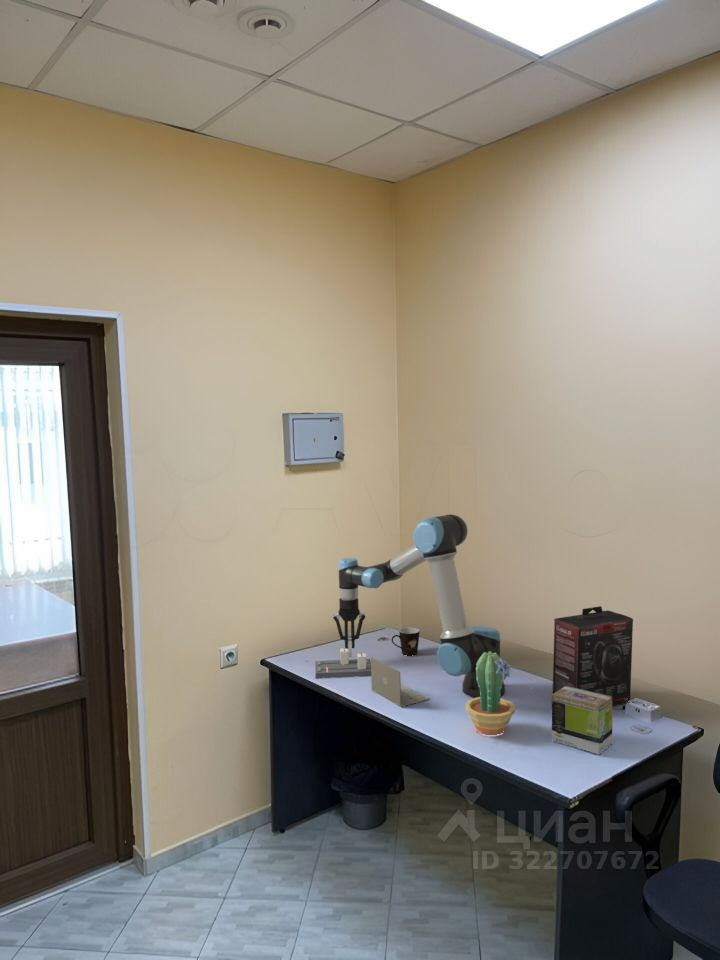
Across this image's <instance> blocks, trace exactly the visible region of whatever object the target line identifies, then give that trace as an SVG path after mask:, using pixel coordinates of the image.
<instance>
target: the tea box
mask: <svg viewBox="0 0 720 960" xmlns="http://www.w3.org/2000/svg"><path fill="white" fill-rule="evenodd" d="M552 740H553V741H552ZM551 741H552V742H554V741H557V742H556V743H558V742H560V743H559V744H561V743H564V744H566V745H565V746H568V745H570V746H569V747H571V746H573V747H572V748H574V747H577V748H576V749H578V748H579V749H578V750H581V749H583V750H582V751H584V750H587V751H586V752H588V751H590V752H589V753H591V752H593V753H592V754H594V753H597V754H596V755H598V754H600V753H601V752H602V753H604V752H603V750H605V749H606V748H607V747H608V746H609V745H610V744H611V743H612V744H613V706H612V697H611V696H608V695H603V694H599V693H595V692H590V691H586V690H582V689H577V688H573V687H569V686H565V687H563V688H562V689H560V690H558V691H557V692H555V693H554V694H553V693H551ZM564 744H563V745H564ZM612 744H611V745H612ZM611 745H610V746H611ZM610 746H609V747H610ZM609 747H608V748H609ZM608 748H607V749H608ZM607 749H606V750H607ZM606 750H605V751H606ZM602 753H601V754H602ZM601 754H600V755H601Z"/></svg>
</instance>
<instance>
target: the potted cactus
mask: <svg viewBox="0 0 720 960" xmlns="http://www.w3.org/2000/svg"><path fill="white" fill-rule="evenodd" d="M476 666H477V667H476V677H477V683H478V686H479V688H480V697H477V698H474V697H473V698H470V699H469V700H467V702H465V703H464V706H465V710H466V712H467V715H469V718H470V720H471V722H472V724H473V725H474V727H475V729H476V730H477V732H479V733H481V734H485V735H497V734H501V733H503V731H505V728H506V727H507V725H508V724H509V722H510V720H511V718H512V717H513V715H514V714H515V710H516V707H515V705H514V704H513V702H511V701H509V700H507V699H505V698H501V697H500V693H501V688H502V685H503V681H505V680H506V678H510V674H511V673H510V672H511V666H510V665H509V663H508V662H507V661H506V660H504V659H503V658H501V656H500V657H499V656H498V655H497V653H492V652H491V651H489V652H488V653H486V652H484V653H483V654H482V656H481V657H480V658H479V660H478V662H477V664H476ZM476 730H475V731H476ZM477 732H476V733H477Z"/></svg>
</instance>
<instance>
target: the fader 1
mask: <svg viewBox="0 0 720 960" xmlns="http://www.w3.org/2000/svg"><path fill="white" fill-rule="evenodd" d="M339 653H340V655H339V656H340V660H341V664H349V660H350V659H349V657H348V649H346V648H345V647H344V648H343V647H342V648H340V651H339Z"/></svg>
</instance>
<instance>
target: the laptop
mask: <svg viewBox="0 0 720 960" xmlns="http://www.w3.org/2000/svg"><path fill="white" fill-rule="evenodd" d="M370 661H371V676H370V677H371V678H370V679H371V692H372V693H374V694H376V695H377V696H379V697H380V698H382V699H384V700H386V701H387V702H390V703H391V704H392V705H394V704H395V706H396V705H397V707H398V706H399V707H398V708H400V707H402V708H405V707H404V706H406V705H408V706H411V705H412V704H413V705H414V703H416V704H418V702H419V703H422V702H425V701H429V700H430V698H429V697H427V696H425V695H424V694H421V693H419V692H418V691H416V690H414V689H412V688H410V687H408V686H407V685H404V684H403V683H401V671H400V670H398V669H396V668H395V667H393V666H390V665H388V664H387V663H385V662H382V661H380V660H378V659H376V658H374V657H370ZM410 704H411V705H410ZM406 707H407V706H406Z"/></svg>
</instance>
